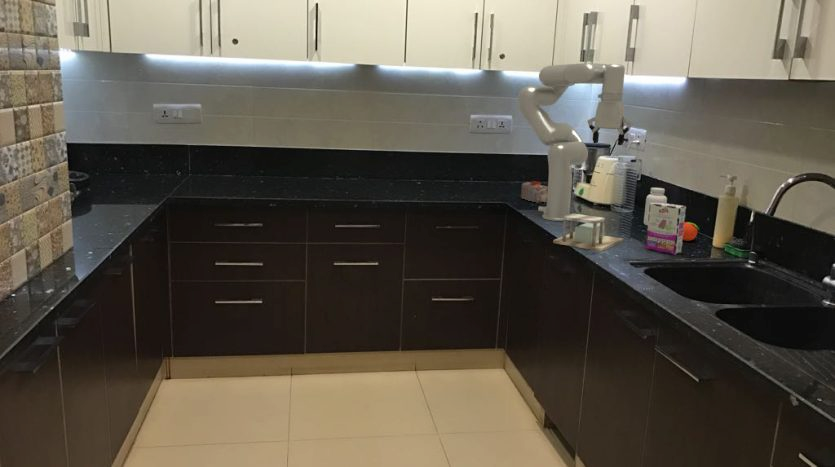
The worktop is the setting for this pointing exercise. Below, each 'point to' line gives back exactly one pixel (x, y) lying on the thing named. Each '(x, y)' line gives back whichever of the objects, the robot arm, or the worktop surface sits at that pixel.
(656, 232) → the candy bar box
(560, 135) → the robot arm
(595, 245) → the overhang stand
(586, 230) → the pale green block
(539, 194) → the food item
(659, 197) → the pill bottle
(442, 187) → the worktop surface
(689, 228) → the clementine
